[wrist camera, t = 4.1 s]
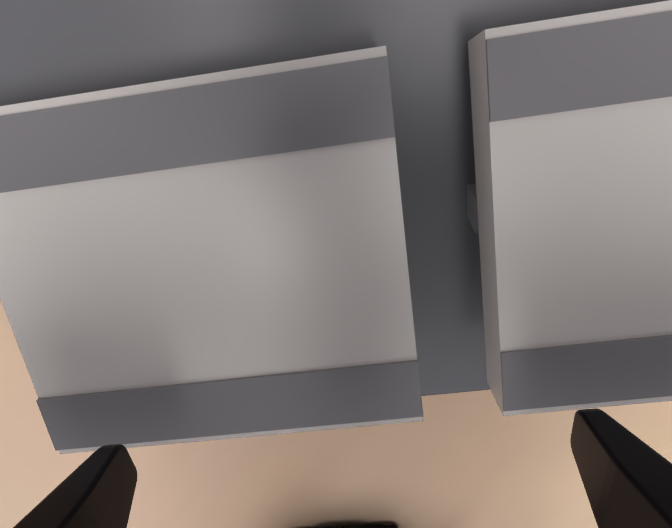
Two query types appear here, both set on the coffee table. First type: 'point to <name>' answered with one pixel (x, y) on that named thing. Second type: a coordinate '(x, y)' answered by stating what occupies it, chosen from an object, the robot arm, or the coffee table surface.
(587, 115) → the grey flat slab
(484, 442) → the coffee table surface
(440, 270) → the switch unit
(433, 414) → the coffee table surface
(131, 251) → the rocker
